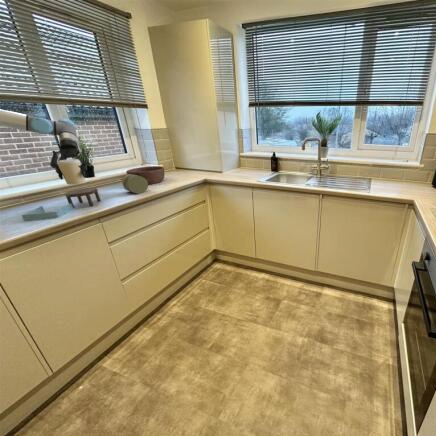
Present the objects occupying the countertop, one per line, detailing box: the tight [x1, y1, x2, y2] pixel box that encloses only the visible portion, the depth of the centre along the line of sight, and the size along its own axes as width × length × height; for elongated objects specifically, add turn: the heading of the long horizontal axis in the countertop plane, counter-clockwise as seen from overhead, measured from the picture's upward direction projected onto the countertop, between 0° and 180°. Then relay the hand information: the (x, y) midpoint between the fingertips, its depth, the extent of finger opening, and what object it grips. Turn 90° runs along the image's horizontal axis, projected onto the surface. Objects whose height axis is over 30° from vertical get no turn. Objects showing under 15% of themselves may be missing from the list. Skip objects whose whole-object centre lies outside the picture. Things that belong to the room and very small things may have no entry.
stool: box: [64, 187, 102, 209], centre depth 134 cm, size 14×14×8 cm
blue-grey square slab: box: [21, 203, 74, 222], centre depth 121 cm, size 14×13×3 cm
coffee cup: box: [57, 158, 86, 186], centre depth 128 cm, size 9×9×12 cm
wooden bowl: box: [125, 165, 165, 186], centre depth 182 cm, size 25×25×10 cm
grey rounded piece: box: [120, 173, 149, 195], centre depth 156 cm, size 11×12×11 cm
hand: (72, 176), depth 126 cm, fingers closed on coffee cup, 9 cm apart
